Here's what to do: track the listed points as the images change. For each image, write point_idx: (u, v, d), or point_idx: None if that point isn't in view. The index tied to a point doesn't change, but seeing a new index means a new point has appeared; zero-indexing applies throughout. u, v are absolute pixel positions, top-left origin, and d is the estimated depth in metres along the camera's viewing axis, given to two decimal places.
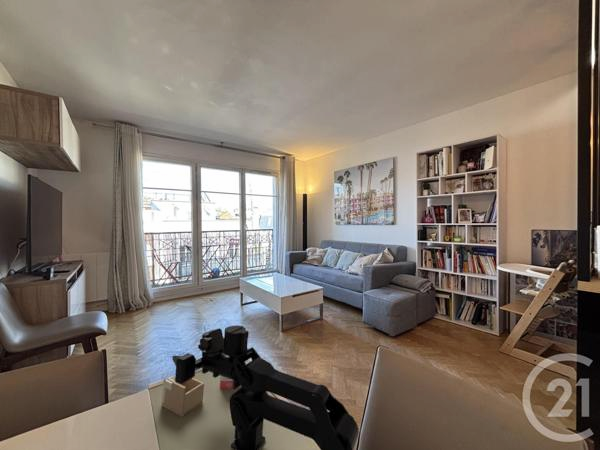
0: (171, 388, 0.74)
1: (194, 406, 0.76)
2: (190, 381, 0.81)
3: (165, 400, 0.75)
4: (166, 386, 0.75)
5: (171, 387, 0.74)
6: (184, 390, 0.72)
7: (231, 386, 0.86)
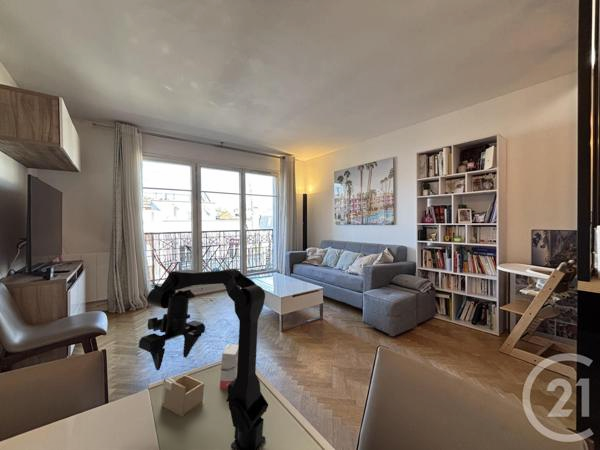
0: (171, 388, 0.74)
1: (194, 406, 0.76)
2: (190, 381, 0.81)
3: (165, 400, 0.75)
4: (166, 386, 0.75)
5: (171, 387, 0.74)
6: (184, 390, 0.72)
7: None
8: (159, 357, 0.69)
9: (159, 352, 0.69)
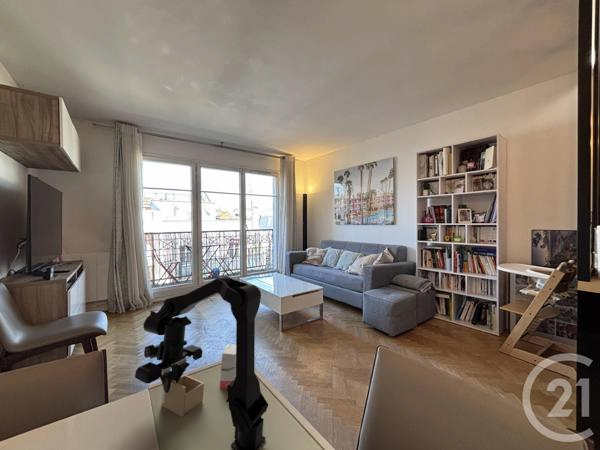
0: (171, 388, 0.74)
1: (194, 406, 0.76)
2: (190, 381, 0.81)
3: (165, 400, 0.75)
4: None
5: (171, 387, 0.74)
6: (184, 390, 0.72)
7: None
8: (168, 381, 0.72)
9: (168, 376, 0.71)
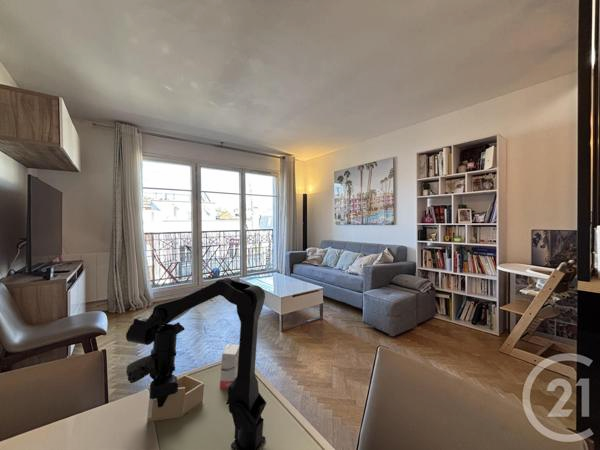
0: None
1: (194, 406, 0.76)
2: (190, 381, 0.81)
3: (154, 413, 0.70)
4: None
5: None
6: (184, 390, 0.72)
7: None
8: None
9: None
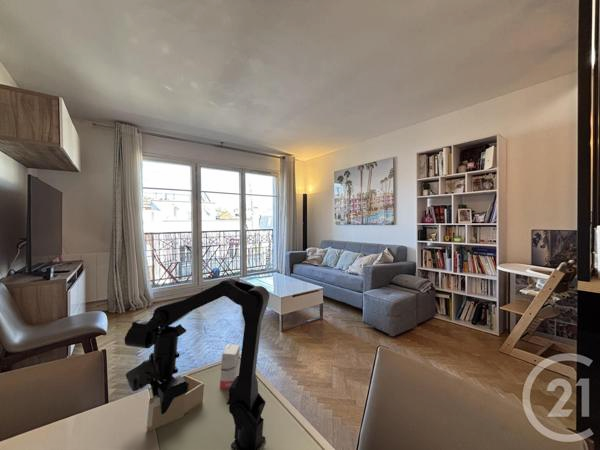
0: None
1: (194, 406, 0.76)
2: (190, 381, 0.81)
3: (154, 420, 0.67)
4: (158, 403, 0.67)
5: None
6: None
7: None
8: None
9: None
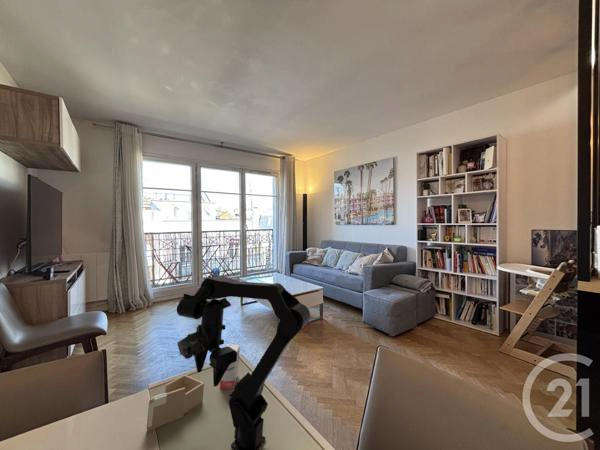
0: (166, 400, 0.69)
1: (194, 406, 0.76)
2: (190, 381, 0.81)
3: (154, 420, 0.67)
4: (158, 403, 0.67)
5: (166, 399, 0.68)
6: (184, 390, 0.72)
7: (231, 386, 0.86)
8: None
9: None
